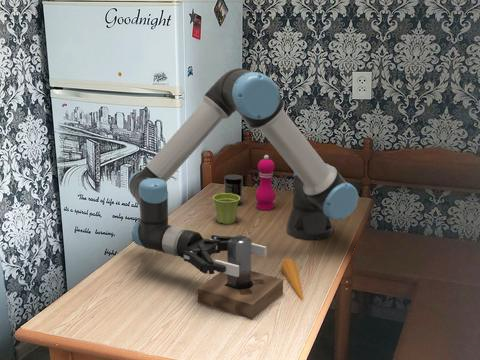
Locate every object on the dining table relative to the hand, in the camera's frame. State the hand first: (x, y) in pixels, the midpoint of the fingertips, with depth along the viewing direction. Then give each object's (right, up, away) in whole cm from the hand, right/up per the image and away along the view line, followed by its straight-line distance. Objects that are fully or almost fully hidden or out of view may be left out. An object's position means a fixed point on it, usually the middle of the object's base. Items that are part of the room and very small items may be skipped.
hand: (252, 261), depth 149 cm
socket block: (-3, -10, +5) cm, 11 cm away
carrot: (+11, -8, +12) cm, 19 cm away
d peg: (-3, -10, +5) cm, 11 cm away
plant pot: (-8, +6, +58) cm, 58 cm away
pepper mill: (+6, +10, +71) cm, 72 cm away
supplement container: (-6, +11, +75) cm, 76 cm away
